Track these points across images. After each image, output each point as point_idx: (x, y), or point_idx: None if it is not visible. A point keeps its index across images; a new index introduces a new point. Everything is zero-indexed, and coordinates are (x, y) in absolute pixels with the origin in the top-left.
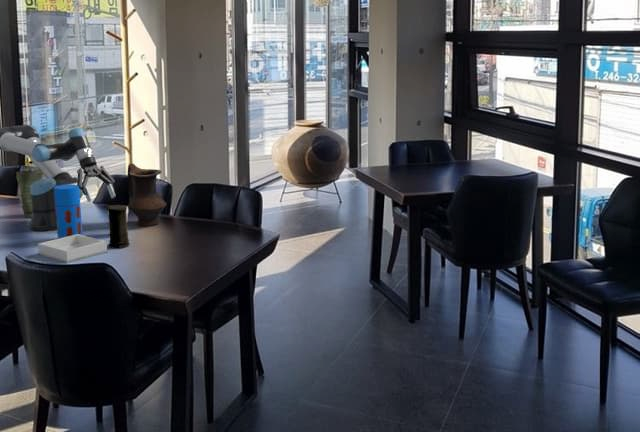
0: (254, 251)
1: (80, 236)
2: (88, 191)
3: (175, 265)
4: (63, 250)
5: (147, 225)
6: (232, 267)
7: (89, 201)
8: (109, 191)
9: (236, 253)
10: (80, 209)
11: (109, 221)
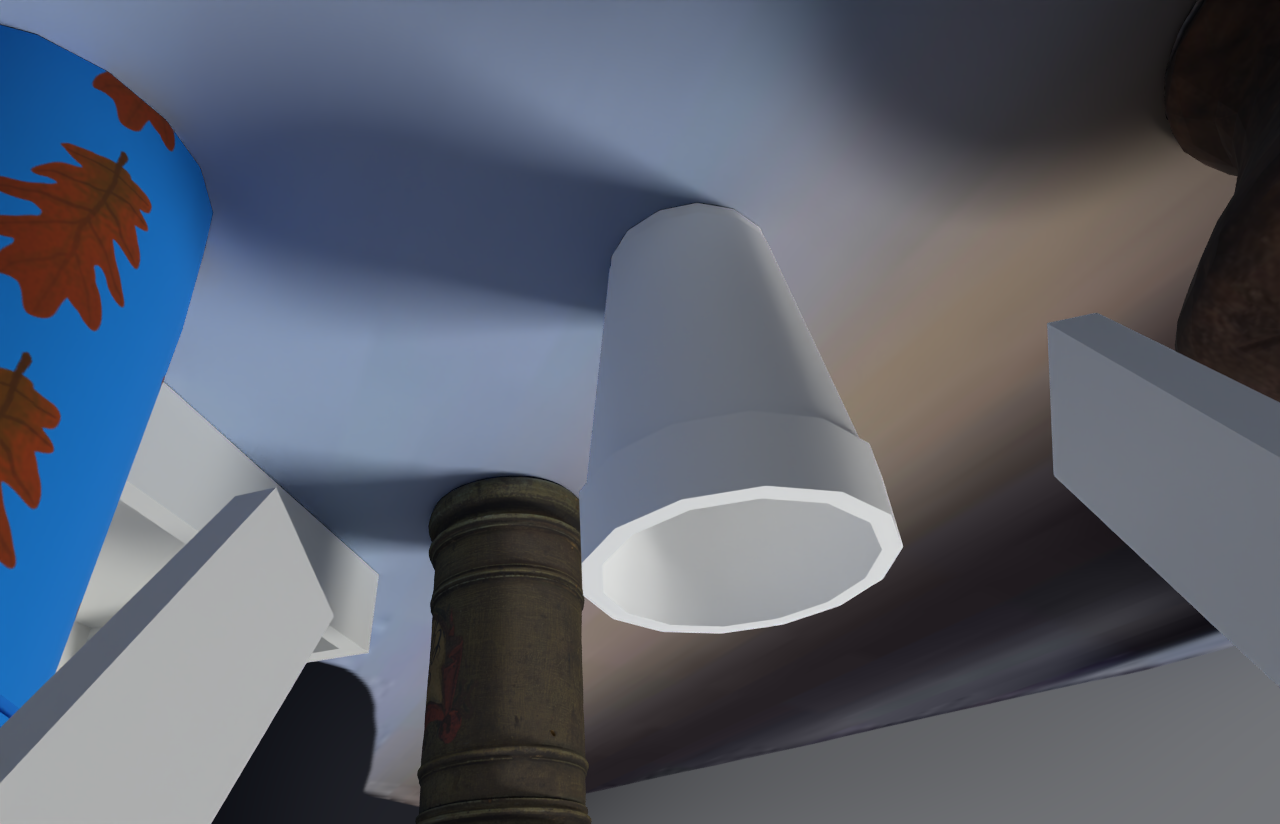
0: (946, 711)
1: (161, 520)
2: (196, 815)
3: (599, 726)
4: None
5: (1194, 155)
6: (740, 758)
7: (277, 511)
8: (1187, 437)
9: (881, 710)
10: (74, 610)
11: (424, 732)
